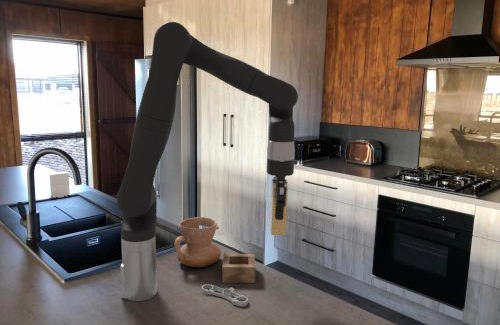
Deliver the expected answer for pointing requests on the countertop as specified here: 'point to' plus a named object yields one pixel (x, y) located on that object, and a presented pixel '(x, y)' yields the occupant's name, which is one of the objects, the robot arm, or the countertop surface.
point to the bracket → (225, 294)
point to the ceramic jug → (197, 242)
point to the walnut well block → (238, 268)
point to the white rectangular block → (59, 184)
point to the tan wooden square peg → (278, 225)
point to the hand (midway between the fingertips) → (278, 216)
